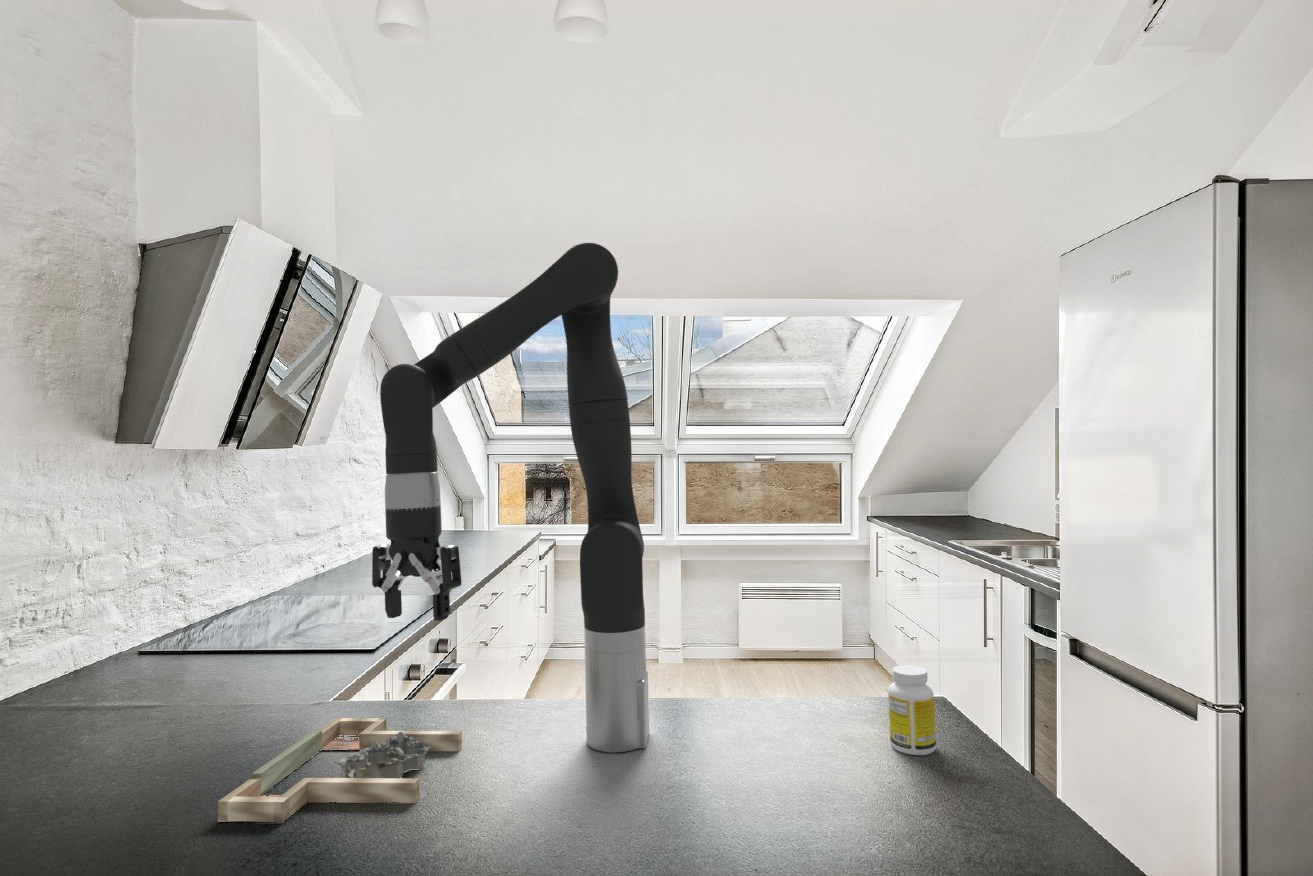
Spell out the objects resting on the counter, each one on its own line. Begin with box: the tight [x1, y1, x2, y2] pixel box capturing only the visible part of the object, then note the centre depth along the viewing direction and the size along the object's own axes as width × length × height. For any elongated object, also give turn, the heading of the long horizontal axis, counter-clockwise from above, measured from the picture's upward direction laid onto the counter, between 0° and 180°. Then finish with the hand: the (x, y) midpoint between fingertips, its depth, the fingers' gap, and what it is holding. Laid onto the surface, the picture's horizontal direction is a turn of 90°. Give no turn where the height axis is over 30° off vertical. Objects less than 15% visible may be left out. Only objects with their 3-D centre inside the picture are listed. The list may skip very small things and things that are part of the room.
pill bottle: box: [887, 665, 937, 756], centre depth 98 cm, size 6×6×11 cm
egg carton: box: [336, 732, 430, 778], centre depth 94 cm, size 11×8×4 cm
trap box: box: [217, 717, 463, 824], centre depth 94 cm, size 22×26×3 cm
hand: (417, 618), depth 97 cm, fingers open, 8 cm apart
